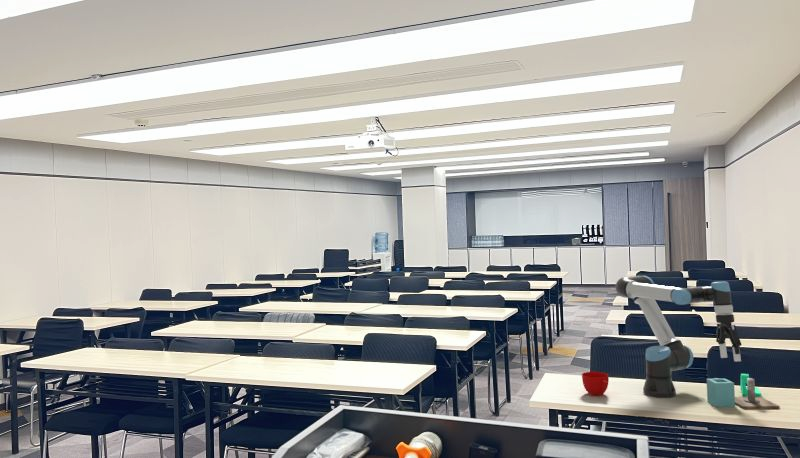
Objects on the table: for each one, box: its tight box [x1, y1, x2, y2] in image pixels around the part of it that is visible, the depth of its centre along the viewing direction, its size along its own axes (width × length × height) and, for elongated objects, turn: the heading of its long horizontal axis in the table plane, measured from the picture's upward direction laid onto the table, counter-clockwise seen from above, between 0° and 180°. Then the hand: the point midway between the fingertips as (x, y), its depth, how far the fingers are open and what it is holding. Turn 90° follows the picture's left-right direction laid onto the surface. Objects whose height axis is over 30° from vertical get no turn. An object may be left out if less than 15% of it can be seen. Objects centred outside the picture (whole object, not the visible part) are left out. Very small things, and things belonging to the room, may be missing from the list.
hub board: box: [735, 377, 781, 410], centre depth 266 cm, size 16×16×12 cm
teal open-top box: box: [706, 377, 736, 408], centre depth 267 cm, size 8×8×11 cm
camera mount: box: [740, 373, 762, 397], centre depth 281 cm, size 12×8×10 cm, turn 154°
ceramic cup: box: [581, 371, 610, 397], centre depth 288 cm, size 13×17×10 cm
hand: (730, 359), depth 267 cm, fingers open, 13 cm apart
